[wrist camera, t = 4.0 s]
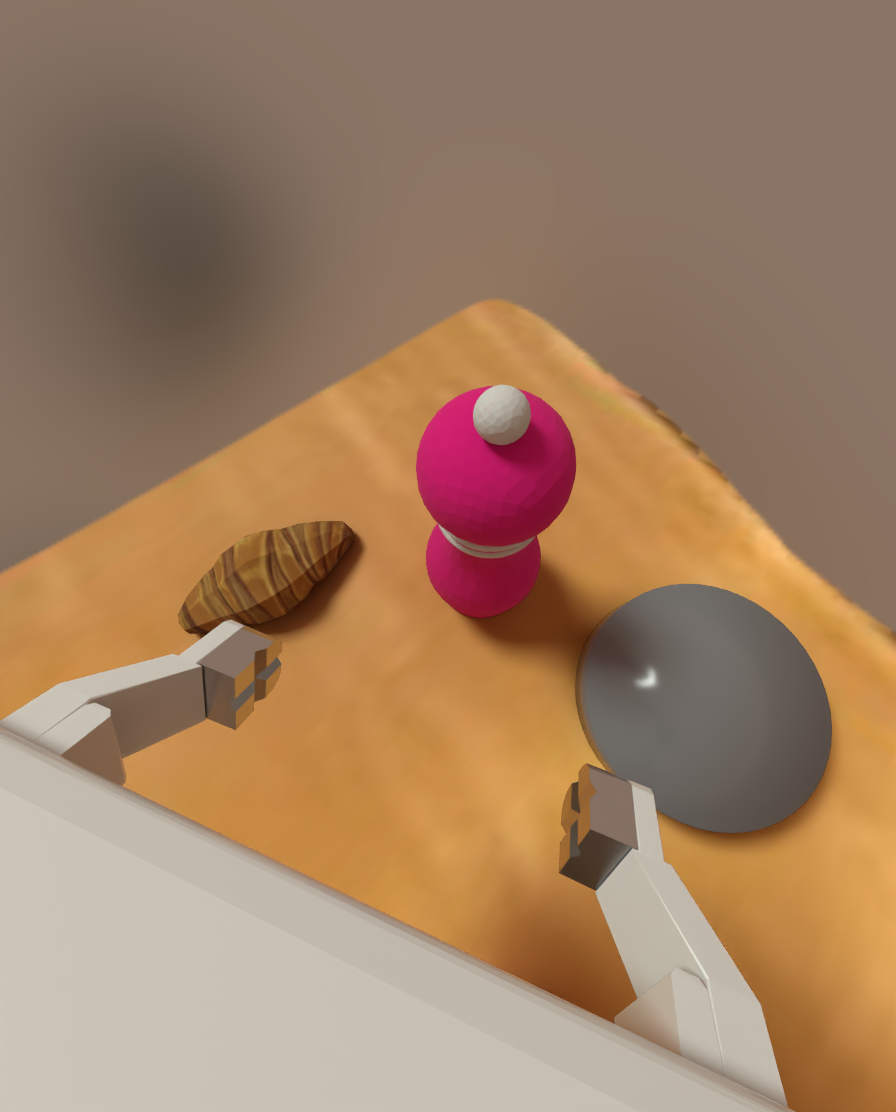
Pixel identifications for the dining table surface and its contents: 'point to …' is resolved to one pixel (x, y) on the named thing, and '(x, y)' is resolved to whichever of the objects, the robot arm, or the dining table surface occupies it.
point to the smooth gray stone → (705, 707)
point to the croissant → (265, 575)
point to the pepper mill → (492, 494)
